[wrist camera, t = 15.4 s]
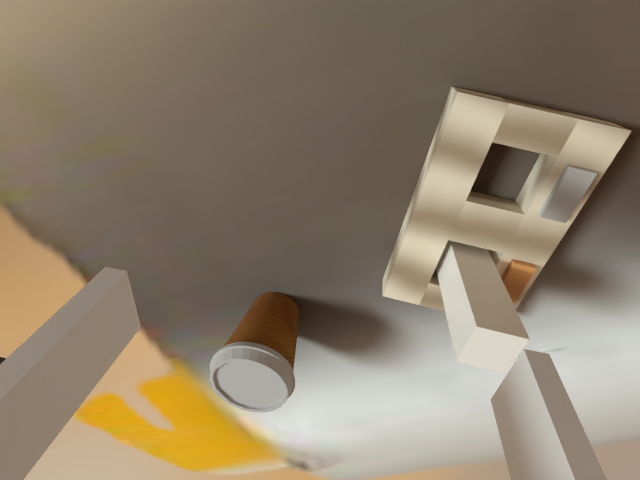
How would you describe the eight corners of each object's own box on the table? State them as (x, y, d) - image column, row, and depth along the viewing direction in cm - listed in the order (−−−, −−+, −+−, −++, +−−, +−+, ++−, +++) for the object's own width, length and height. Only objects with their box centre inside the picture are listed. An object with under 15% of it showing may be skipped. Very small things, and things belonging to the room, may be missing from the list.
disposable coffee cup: (236, 280, 47) (195, 352, 36) (308, 283, 45) (287, 359, 35) (248, 333, 51) (215, 410, 41) (314, 338, 50) (296, 419, 40)
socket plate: (451, 86, 31) (459, 93, 28) (611, 122, 31) (638, 133, 28) (382, 279, 43) (382, 300, 40) (497, 307, 43) (507, 331, 39)
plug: (447, 233, 39) (476, 326, 27) (484, 242, 39) (529, 339, 27) (434, 263, 41) (456, 361, 29) (469, 271, 41) (505, 373, 29)
